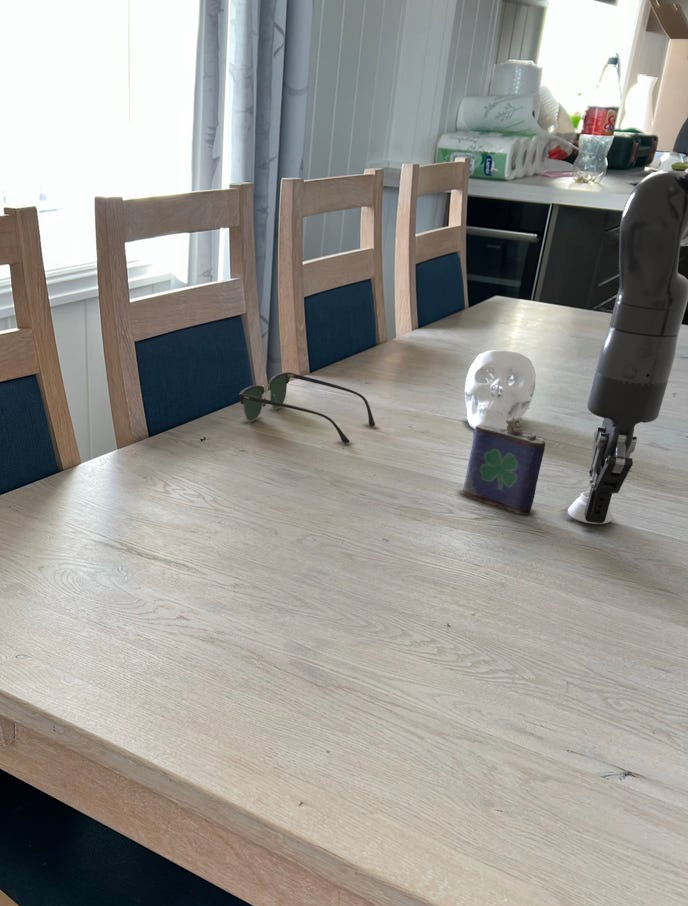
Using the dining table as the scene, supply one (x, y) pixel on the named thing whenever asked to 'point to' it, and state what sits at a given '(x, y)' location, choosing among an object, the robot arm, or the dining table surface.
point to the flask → (504, 466)
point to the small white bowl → (579, 508)
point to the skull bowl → (499, 388)
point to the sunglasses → (278, 388)
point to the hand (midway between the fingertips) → (593, 520)
